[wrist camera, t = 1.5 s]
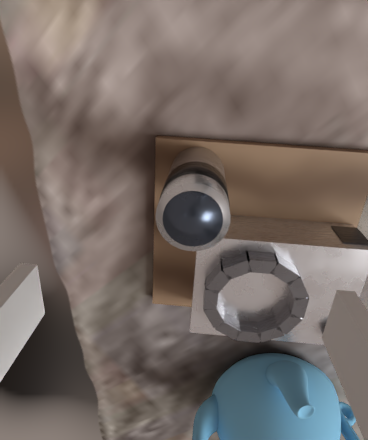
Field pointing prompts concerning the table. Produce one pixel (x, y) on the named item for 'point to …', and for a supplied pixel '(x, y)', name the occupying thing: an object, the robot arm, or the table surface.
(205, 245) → the lens
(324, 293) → the camera body
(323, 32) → the table surface
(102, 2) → the table surface
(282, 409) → the teapot
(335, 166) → the board
